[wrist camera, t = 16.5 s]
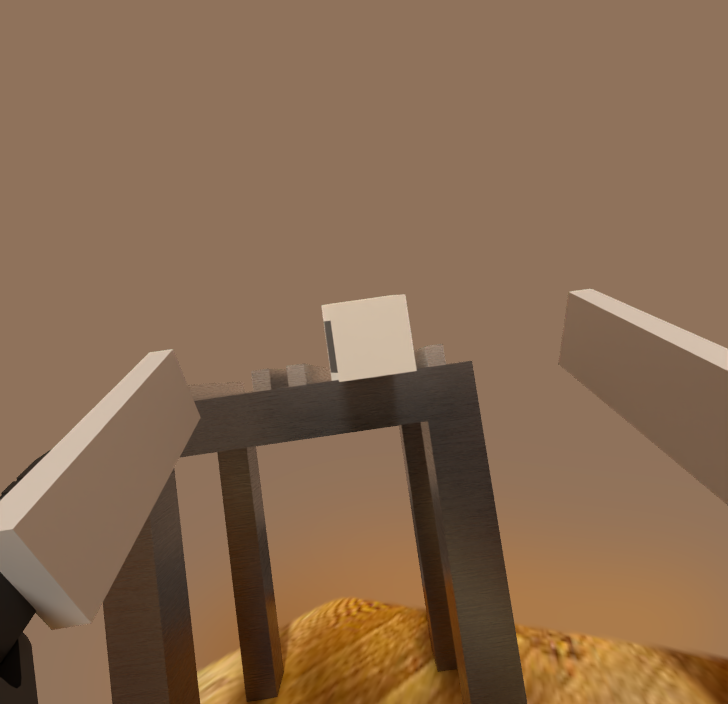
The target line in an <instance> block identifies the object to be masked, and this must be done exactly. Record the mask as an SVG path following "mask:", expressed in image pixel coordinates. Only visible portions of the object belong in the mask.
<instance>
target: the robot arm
mask: <svg viewBox="0 0 728 704" xmlns="http://www.w3.org/2000/svg"><path fill="white" fill-rule="evenodd" d="M558 364H559V365H560V366H561V367H562V368H564V369H565V370H566V371H567V372H569V373H570V374H571V375H572V376H573V377H574V378H576V379H577V380H578V381H579V382H581V383H582V384H583V385H584V386H585V387H586V388H588V389H589V390H590V391H591V392H592V393H594V394H595V395H596V396H597V397H599V398H600V399H601V400H602V401H603V402H604V403H606V404H607V405H608V406H609V407H611V408H612V409H613V410H614V411H616V413H618V414H619V415H620V416H621V417H622V418H624V419H625V420H626V421H627V422H628V423H630V424H631V425H632V426H633V427H634V428H636V429H637V430H638V431H639V432H641V433H642V434H643V435H644V436H645V437H646V438H648V439H649V440H650V441H651V442H652V443H654V444H655V445H656V446H658V448H660V449H661V450H662V451H663V452H665V453H666V454H667V455H668V456H669V457H671V458H672V459H673V460H674V461H675V462H676V463H678V464H679V465H680V466H681V467H683V468H684V469H685V470H686V471H687V472H689V473H690V474H691V475H692V476H693V477H694V478H696V479H697V480H698V481H699V482H700V483H702V484H703V485H704V486H705V487H707V488H708V489H709V490H710V491H711V492H712V493H714V494H715V495H716V496H717V497H719V498H720V499H721V500H722V501H723V502H724V503H726V504H727V505H728V349H727V348H725V347H722V346H720V345H718V344H716V343H713V342H711V341H709V340H706V339H704V338H702V337H699V336H697V335H695V334H693V333H690V332H688V331H686V330H684V329H681V328H679V327H677V326H675V325H672V324H670V323H668V322H666V321H663V320H661V319H659V318H657V317H654V316H652V315H650V314H647V313H645V312H643V311H641V310H638V309H636V308H634V307H632V306H629V305H627V304H624V303H623V302H620V301H618V300H616V299H613V298H611V297H609V296H607V295H604V294H602V293H600V292H598V291H595V290H593V289H585V290H578V291H571V292H568V299H567V307H566V314H565V321H564V328H563V335H562V342H561V350H560V356H559V363H558ZM200 418H201V417H200V415H199V412H198V410H197V407H196V405H195V402H194V400H193V397H192V395H191V392H190V390H189V387H188V385H187V382H186V380H185V377H184V375H183V372H182V370H181V367H180V365H179V362H178V360H177V357H176V355H175V353H174V350H173V349H171V350H163V351H157V352H150V353H148V354H147V356H146V357H145V358H143V359H142V360H141V361H140V362H139V363H138V365H137V366H135V367H134V368H133V369H132V370H131V372H129V373H128V374H127V375H126V376H125V377H124V378H123V379H122V380H121V381H120V382H119V383H118V384H117V385H116V386H115V387H114V388H113V389H112V390H111V391H110V392H109V393H108V394H107V395H106V396H105V397H104V398H103V399H102V400H101V401H100V402H99V403H98V404H97V405H96V406H95V407H94V408H93V409H92V410H91V411H90V412H89V413H88V414H87V415H86V416H85V417H84V418H83V419H82V420H81V421H80V422H79V423H78V424H77V425H76V426H75V427H74V428H73V429H72V430H71V431H70V432H69V433H68V434H67V435H66V436H65V437H64V438H63V439H62V440H61V441H60V442H59V443H58V444H57V445H56V446H55V447H54V448H53V449H51V450H50V451H48V452H47V453H45V454H44V455H42V456H41V457H39V458H38V459H36V460H35V461H34V462H33V463H32V464H31V465H30V466H29V467H28V468H27V469H26V470H25V471H24V472H23V473H22V474H20V475H19V476H18V477H17V481H14V482H12V483H11V484H10V485H9V486H8V487H7V488H6V489H5V490H4V491H3V492H2V496H1V497H0V704H38V699H37V690H36V681H35V673H34V664H33V655H32V646H31V643H30V641H29V639H28V637H27V636H26V635H25V634H24V633H23V630H24V629H25V627H26V626H27V624H28V623H29V621H30V620H31V618H32V617H33V615H34V614H35V613H36V614H37V615H38V616H39V617H40V618H41V619H42V620H43V621H44V622H45V623H46V624H47V625H48V626H49V627H50V629H51V630H54V629H60V628H67V627H73V626H79V625H85V624H91V623H92V622H93V620H94V618H95V616H96V614H97V612H98V610H99V608H100V606H101V605H102V603H103V601H104V599H105V597H106V595H107V593H108V591H109V590H110V588H111V586H112V584H113V582H114V580H115V578H116V576H117V574H118V573H119V571H120V569H121V567H122V565H123V563H124V561H125V559H126V557H127V556H128V554H129V552H130V550H131V548H132V546H133V544H134V542H135V540H136V539H137V537H138V535H139V533H140V531H141V529H142V527H143V525H144V523H145V522H146V520H147V518H148V516H149V514H150V512H151V510H152V508H153V506H154V505H155V503H156V501H157V499H158V497H159V495H160V493H161V491H162V489H163V488H164V486H165V484H166V482H167V480H168V478H169V476H170V474H171V472H172V471H173V469H174V467H175V465H176V463H177V461H178V459H179V457H180V455H181V454H182V452H183V450H184V448H185V446H186V444H187V442H188V440H189V438H190V437H191V435H192V433H193V431H194V429H195V427H196V425H197V423H198V421H199V420H200Z"/></svg>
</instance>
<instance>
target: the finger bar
mask: <svg viewBox="0 0 728 704" xmlns="http://www.w3.org/2000/svg"><path fill="white" fill-rule="evenodd" d="M322 313H323V320H324V328H325V335H326V342H327V349H328V357H329V363H330V371H331V379H332V381H333V380H339V382H343V381H350V380H357V379H364V378H371V377H378V376H385V375H392V374H399V373H406V372H413V371H417V369H416V363H415V356H414V349H413V343H412V337H411V330H410V323H409V316H408V310H407V303H406V297H405V294H404V295H390V296H384V297H376V298H369V299H362V300H355V301H349V302H341V303H334V304H328V305H322Z"/></svg>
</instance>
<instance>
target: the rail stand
mask: <svg viewBox="0 0 728 704" xmlns="http://www.w3.org/2000/svg"><path fill="white" fill-rule="evenodd" d="M414 356H415V363H416V369H417V371H413V372H406V373H399V374H392V375H385V376H378V377H371V378H364V379H357V380H350V381H343V382H339V380H333V381H332V379H331V371H330V368H324V367H319V366H313V365H308V364H298V365H292V366H286V368H287V370H282V369H264V370H256V371H251V374H252V383H253V391H250V392H244V384H243V382H229V383H213V384H199V385H198V384H197V385H188V387H189V390H190V392H191V395H192V397H193V400H194V402H195V405H196V407H197V410H198V412H199V415H200V417H201V418H200V420H199V421H198V423H197V425H196V427H195V429H194V431H193V433H192V435H191V437H190V438H189V440H188V442H187V444H186V446H185V448H184V450H183V452H182V454H181V455H180V457H186V456H193V455H200V454H206V453H213V452H217V453H218V461H219V470H220V478H221V486H222V495H223V504H224V512H225V521H226V529H227V537H228V547H229V555H230V564H231V572H232V580H233V589H234V598H235V606H236V615H237V623H238V631H239V640H240V649H241V657H242V666H243V675H244V683H245V692H246V700H247V702H249V701H255V700H261V699H268V698H274V697H277V695H278V692H279V688H280V684H281V680H282V676H283V672H284V671H283V663H282V654H281V646H280V638H279V630H278V623H277V614H276V606H275V598H274V590H273V582H272V574H271V566H270V558H269V550H268V541H267V533H266V525H265V517H264V509H263V501H262V493H261V485H260V477H259V468H258V461H257V452H256V446H261V445H268V444H275V443H282V442H288V441H295V440H302V439H309V438H315V437H323V436H329V435H336V434H343V433H350V432H357V431H363V430H371V429H377V428H384V427H391V426H398V425H399V429H400V436H401V443H402V449H403V456H404V463H405V469H406V476H407V483H408V490H409V497H410V503H411V509H412V517H413V523H414V531H415V537H416V543H417V551H418V558H419V563H420V564H419V565H420V571H421V578H422V585H423V592H424V598H425V605H426V612H427V619H428V625H429V632H430V639H431V646H432V651H433V655H434V659H435V663H436V666H437V670H438V672H439V671H445V670H451V669H458V674H459V680H460V687H461V694H462V700H463V704H527V700H526V693H525V687H524V681H523V675H522V669H521V662H520V656H519V650H518V644H517V638H516V631H515V625H514V619H513V613H512V607H511V601H510V594H509V589H508V582H507V576H506V570H505V564H504V558H503V551H502V545H501V539H500V532H499V526H498V520H497V514H496V508H495V502H494V495H493V489H492V483H491V477H490V471H489V464H488V459H487V452H486V446H485V440H484V434H483V428H482V422H481V415H480V408H479V403H478V396H477V390H476V384H475V378H474V371H473V365H472V361H467V362H459V363H450V364H446V362H445V356H444V350H443V344H438V345H431V346H425V347H423V348H420V349H418V350H416V351H414ZM189 608H190V607H189V599H188V589H187V580H186V571H185V562H184V554H183V545H182V535H181V525H180V517H179V507H178V499H177V489H176V481H175V471H174V469H173V471H172V472H171V474H170V476H169V478H168V480H167V482H166V484H165V486H164V488H163V489H162V491H161V493H160V495H159V497H158V499H157V501H156V503H155V505H154V506H153V508H152V510H151V512H150V514H149V516H148V518H147V520H146V522H145V523H144V525H143V527H142V529H141V531H140V533H139V535H138V537H137V539H136V540H135V542H134V544H133V546H132V548H131V550H130V552H129V554H128V556H127V557H126V559H125V561H124V563H123V565H122V567H121V569H120V571H119V573H118V574H117V576H116V578H115V580H114V582H113V584H112V586H111V588H110V590H109V591H108V593H107V595H106V597H105V599H104V601H103V609H104V619H105V629H106V640H107V650H108V661H109V671H110V682H111V692H112V703H113V704H200V698H199V689H198V680H197V671H196V663H195V653H194V644H193V635H192V626H191V617H190V609H189Z"/></svg>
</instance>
